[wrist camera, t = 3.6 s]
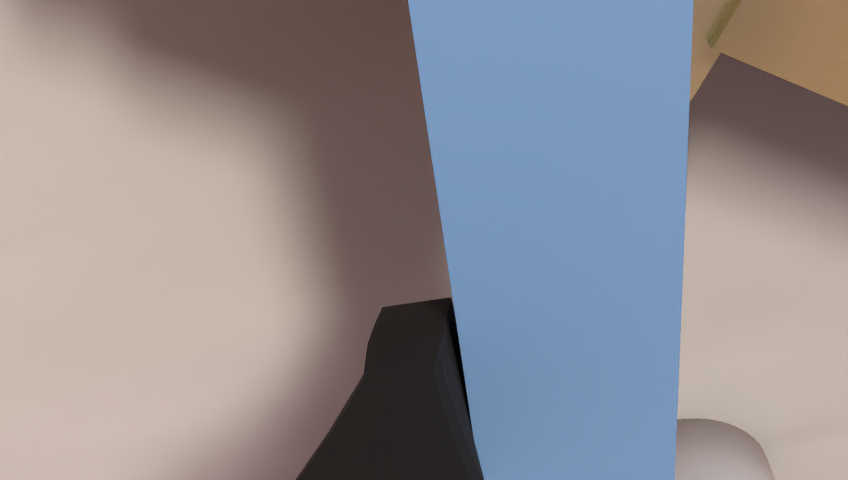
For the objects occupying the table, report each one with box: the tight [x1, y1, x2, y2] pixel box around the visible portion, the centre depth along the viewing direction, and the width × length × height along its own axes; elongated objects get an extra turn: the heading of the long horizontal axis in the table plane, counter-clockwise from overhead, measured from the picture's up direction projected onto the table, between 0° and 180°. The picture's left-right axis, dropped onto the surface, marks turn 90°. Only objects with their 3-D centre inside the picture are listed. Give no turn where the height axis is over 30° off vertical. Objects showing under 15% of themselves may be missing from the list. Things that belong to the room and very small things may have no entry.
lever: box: [408, 0, 694, 480], centre depth 9 cm, size 3×14×2 cm, turn 8°
